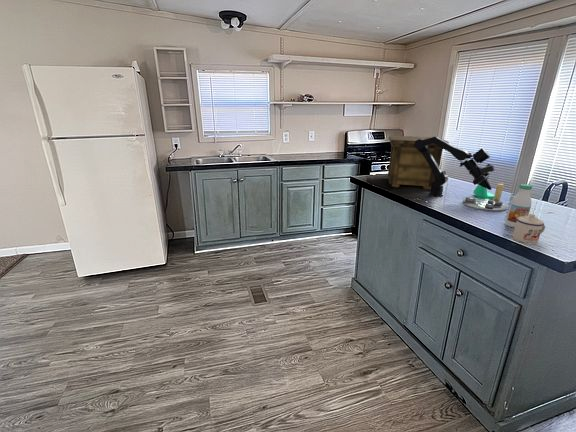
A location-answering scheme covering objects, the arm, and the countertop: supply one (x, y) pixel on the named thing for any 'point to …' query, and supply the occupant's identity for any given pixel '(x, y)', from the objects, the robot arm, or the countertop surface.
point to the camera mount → (483, 193)
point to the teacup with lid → (528, 229)
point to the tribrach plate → (482, 204)
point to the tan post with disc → (497, 196)
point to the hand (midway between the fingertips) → (490, 189)
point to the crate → (411, 162)
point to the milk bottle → (519, 205)
